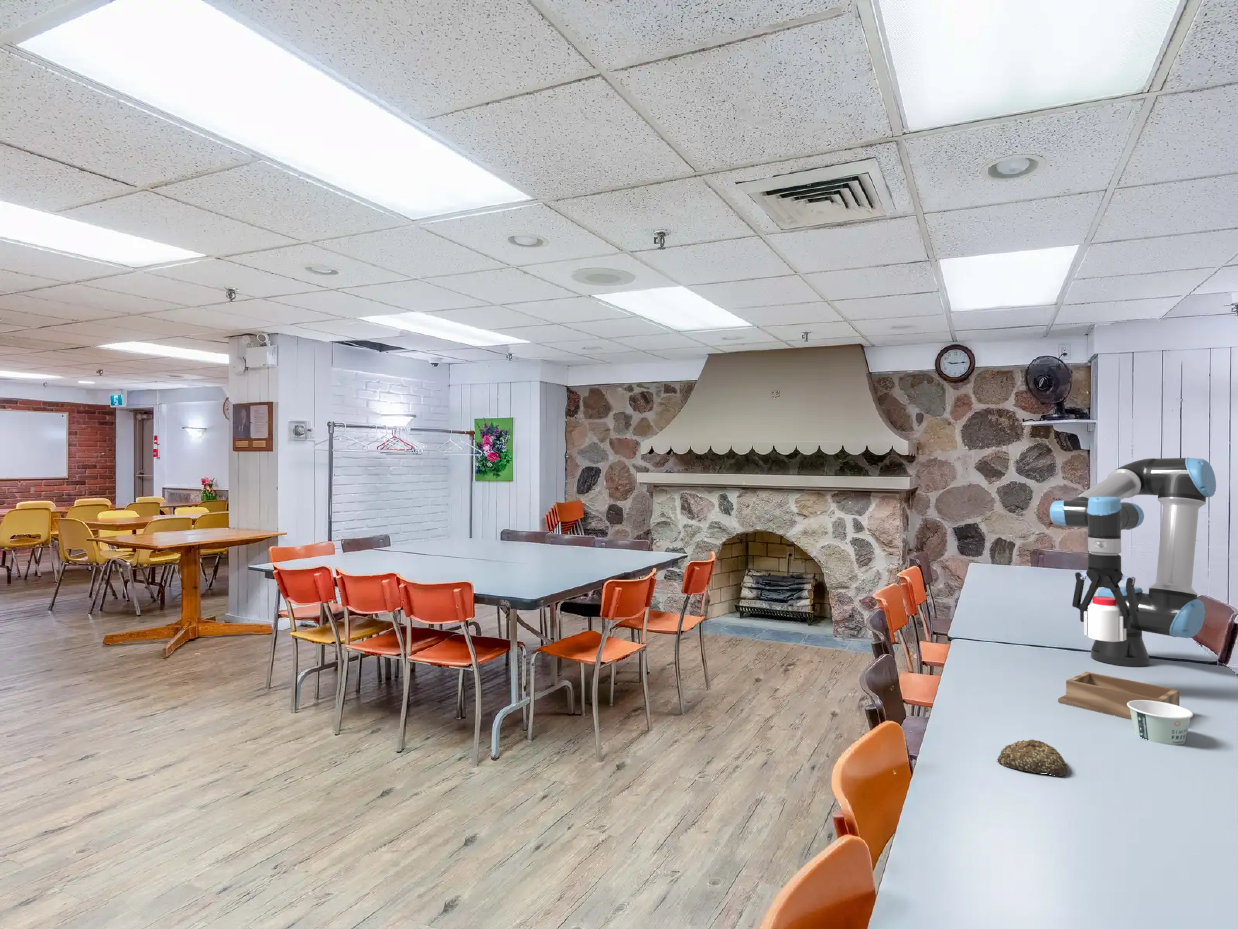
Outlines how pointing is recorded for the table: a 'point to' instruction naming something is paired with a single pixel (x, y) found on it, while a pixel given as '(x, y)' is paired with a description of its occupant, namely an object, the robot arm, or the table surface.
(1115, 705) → the tray
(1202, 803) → the table surface
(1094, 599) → the pill bottle
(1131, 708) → the food container
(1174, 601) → the robot arm
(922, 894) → the table surface
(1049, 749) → the bread roll
